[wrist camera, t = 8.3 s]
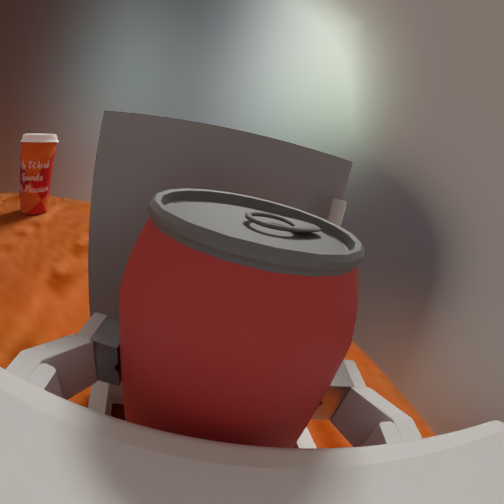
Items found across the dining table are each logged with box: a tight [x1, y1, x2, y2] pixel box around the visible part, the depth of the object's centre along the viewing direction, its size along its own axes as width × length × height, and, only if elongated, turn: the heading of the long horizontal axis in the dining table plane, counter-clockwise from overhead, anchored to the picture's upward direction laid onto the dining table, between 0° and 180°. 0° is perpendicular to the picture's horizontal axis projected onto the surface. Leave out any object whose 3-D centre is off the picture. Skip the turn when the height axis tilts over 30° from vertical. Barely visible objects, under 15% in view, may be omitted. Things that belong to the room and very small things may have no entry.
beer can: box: [119, 188, 364, 448], centre depth 9 cm, size 7×7×12 cm
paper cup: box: [20, 134, 59, 215], centre depth 40 cm, size 8×8×14 cm
